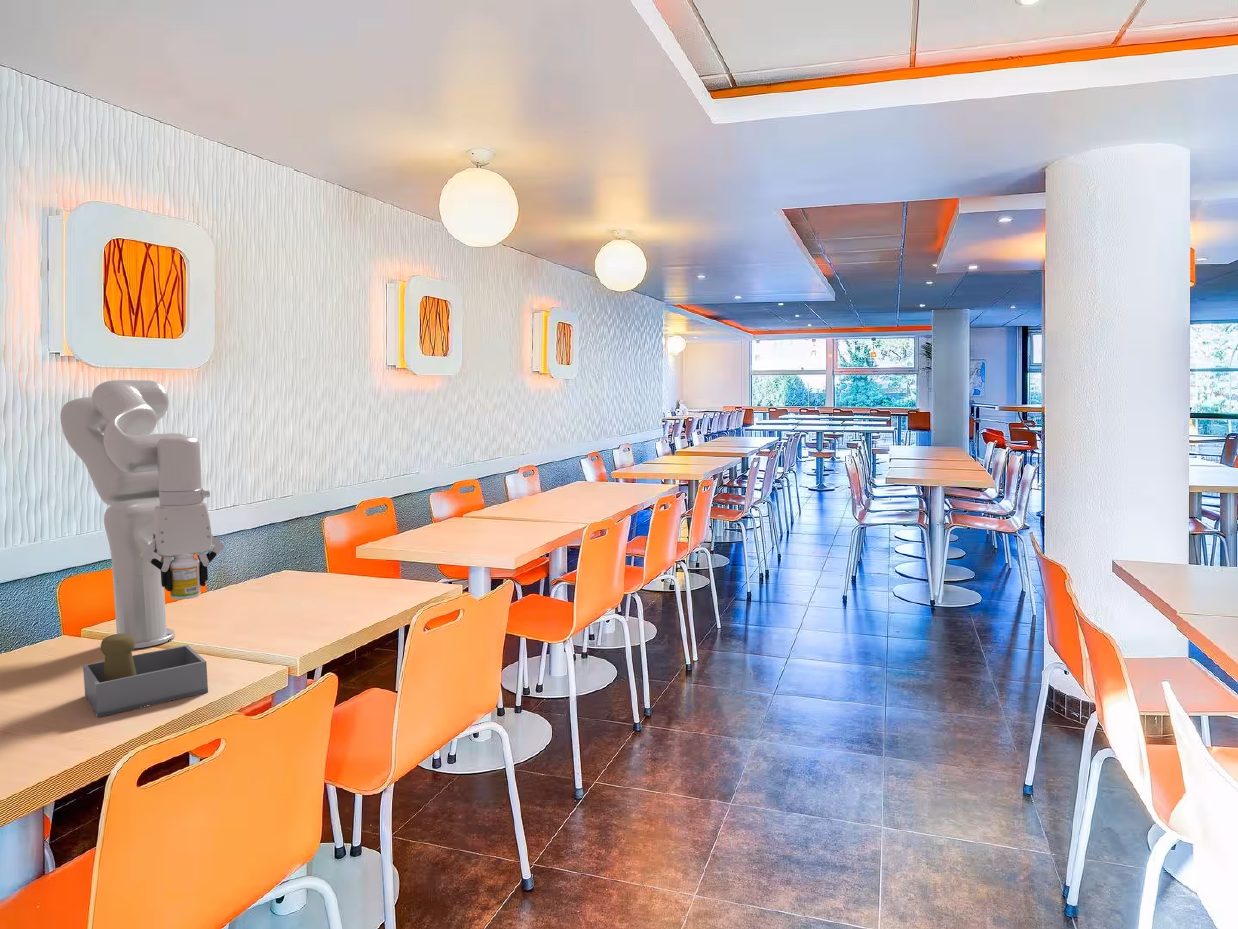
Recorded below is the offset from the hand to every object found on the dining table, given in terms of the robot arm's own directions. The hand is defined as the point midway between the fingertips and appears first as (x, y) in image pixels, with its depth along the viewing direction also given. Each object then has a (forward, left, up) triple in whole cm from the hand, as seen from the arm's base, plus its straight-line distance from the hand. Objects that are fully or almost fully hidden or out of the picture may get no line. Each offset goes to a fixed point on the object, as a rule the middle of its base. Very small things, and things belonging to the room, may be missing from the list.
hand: (185, 586), depth 163 cm
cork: (+13, -14, -15) cm, 25 cm away
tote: (+14, -10, -16) cm, 23 cm away
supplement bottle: (0, 0, -2) cm, 2 cm away
